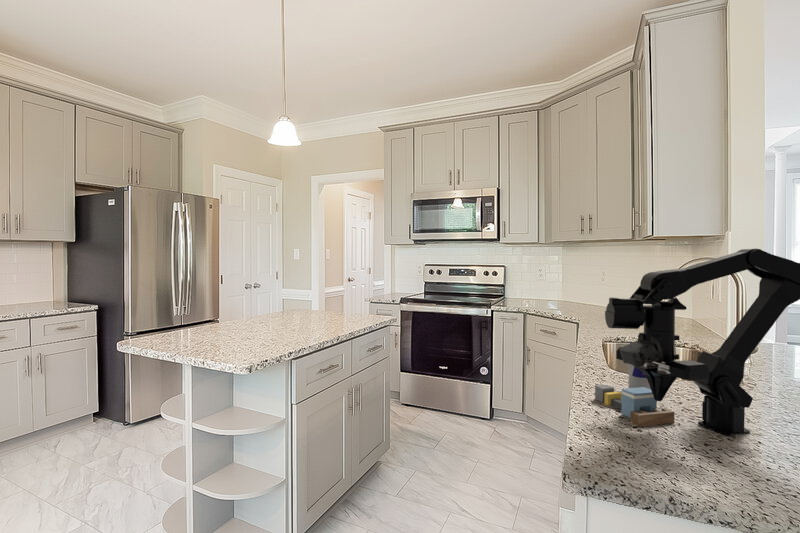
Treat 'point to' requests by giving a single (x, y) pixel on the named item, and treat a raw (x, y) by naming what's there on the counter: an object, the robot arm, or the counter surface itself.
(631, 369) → the energy drink
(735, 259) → the robot arm
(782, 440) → the counter surface
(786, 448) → the counter surface
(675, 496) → the counter surface
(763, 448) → the counter surface
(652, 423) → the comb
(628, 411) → the sleeve
